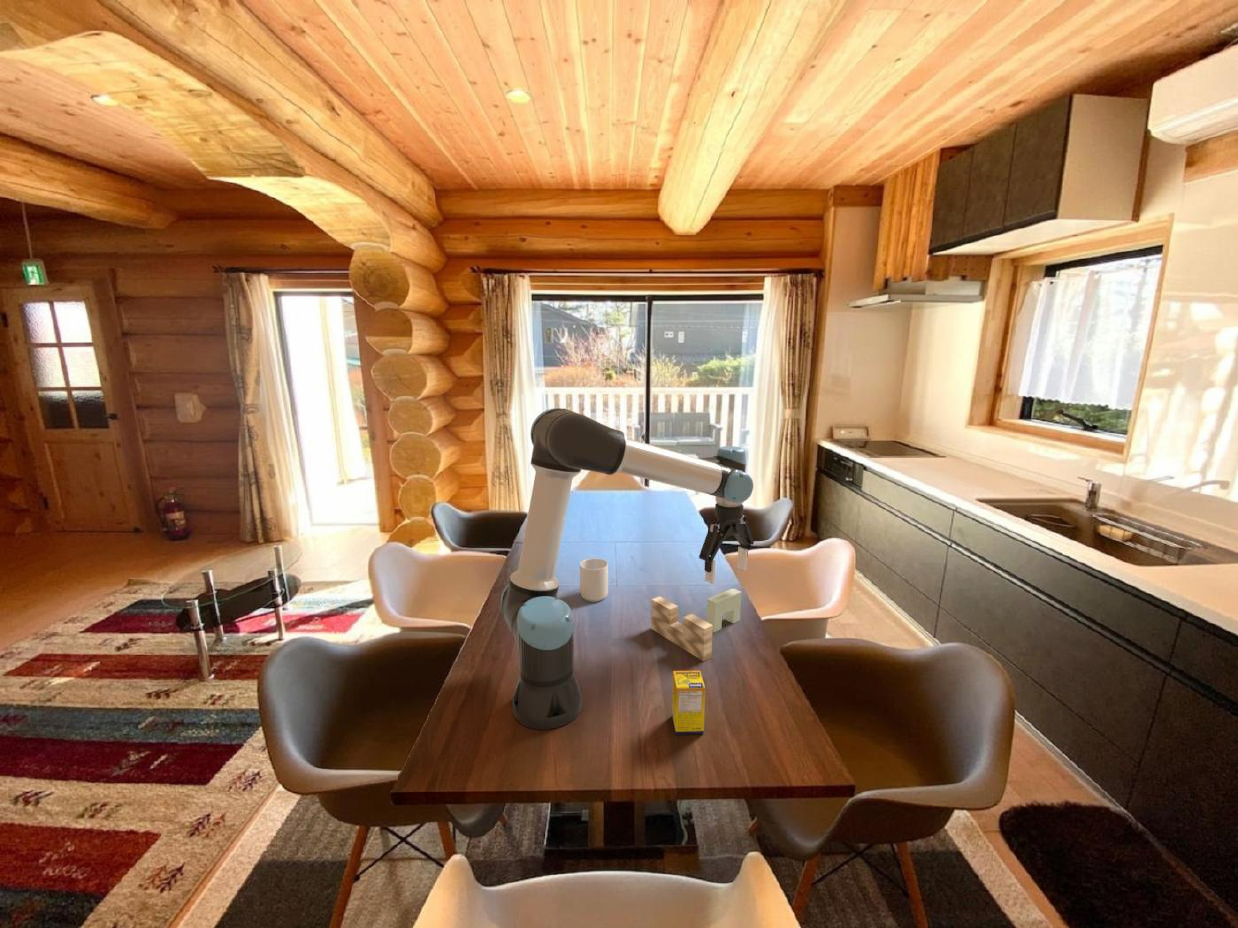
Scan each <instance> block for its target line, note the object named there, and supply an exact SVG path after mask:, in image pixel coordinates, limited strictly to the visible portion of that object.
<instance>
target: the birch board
mask: <svg viewBox="0 0 1238 928" xmlns="http://www.w3.org/2000/svg"><path fill="white" fill-rule="evenodd" d="M650 608H651V614H650V615H651V617H650V618H651V619H650V620H651V621H650V622H651V623H650V629H651V630H653V631H654V632H656V633H657V634H659V635H661V636H662V637H664V638H666V639H667V640H668V641H670V642H672V643H673V644H675V645H677V646H678V647H679V648H681V649H682V650H684V651H686V652H688V653H689V654H691V655H692V656H694V657H696V658H697V659H699V660H700V661H702V662H705V661H707V660H708V659H711V658H712V656H713V655H712V652H713V651H712V649H713V634H714V632H713V625H711V624H710V623H708V622H707V620H704V619H702V618H701V617H698V616H696V615H695V614H693V613H690V614H687V615H685V616H683V619H682V623H681V622H679V606H678V605H677V604H675V603H673V602H671V601H670V600H668V599H666V598H663V597H662V596H660V595H659V596H656V597H654V598H651V607H650Z"/></svg>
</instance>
